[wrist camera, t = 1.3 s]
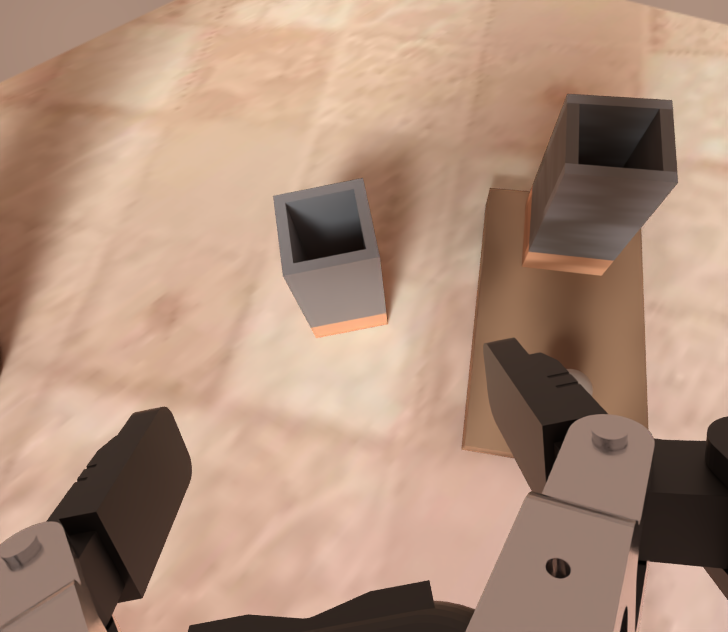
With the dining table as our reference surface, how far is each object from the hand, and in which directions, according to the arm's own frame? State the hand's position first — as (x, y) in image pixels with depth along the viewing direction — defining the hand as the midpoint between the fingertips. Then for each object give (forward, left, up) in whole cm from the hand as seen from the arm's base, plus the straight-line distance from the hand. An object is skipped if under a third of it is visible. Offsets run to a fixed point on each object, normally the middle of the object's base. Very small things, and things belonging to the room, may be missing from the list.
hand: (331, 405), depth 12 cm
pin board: (+10, +11, -19) cm, 24 cm away
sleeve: (-4, +11, -19) cm, 22 cm away
